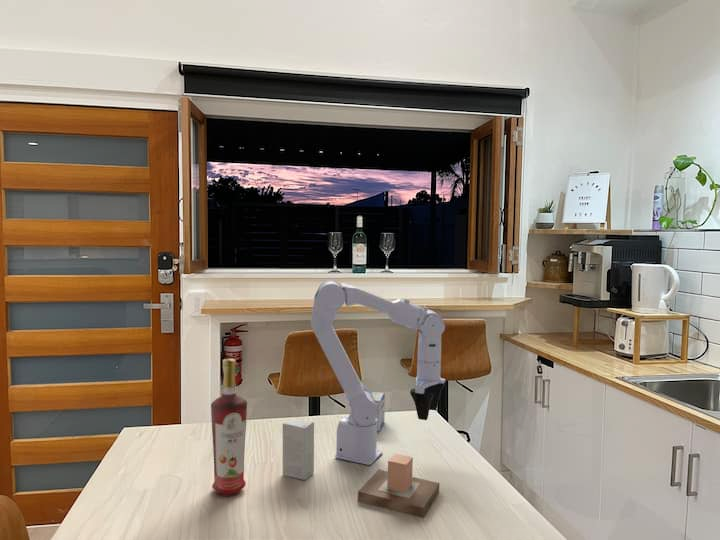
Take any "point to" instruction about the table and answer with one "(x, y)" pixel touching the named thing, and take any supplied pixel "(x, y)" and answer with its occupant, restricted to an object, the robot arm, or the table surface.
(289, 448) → the skincare box
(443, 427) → the table surface
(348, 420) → the robot arm
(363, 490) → the base board
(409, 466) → the terracotta block
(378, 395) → the medicine box
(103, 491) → the table surface
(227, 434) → the liquor
